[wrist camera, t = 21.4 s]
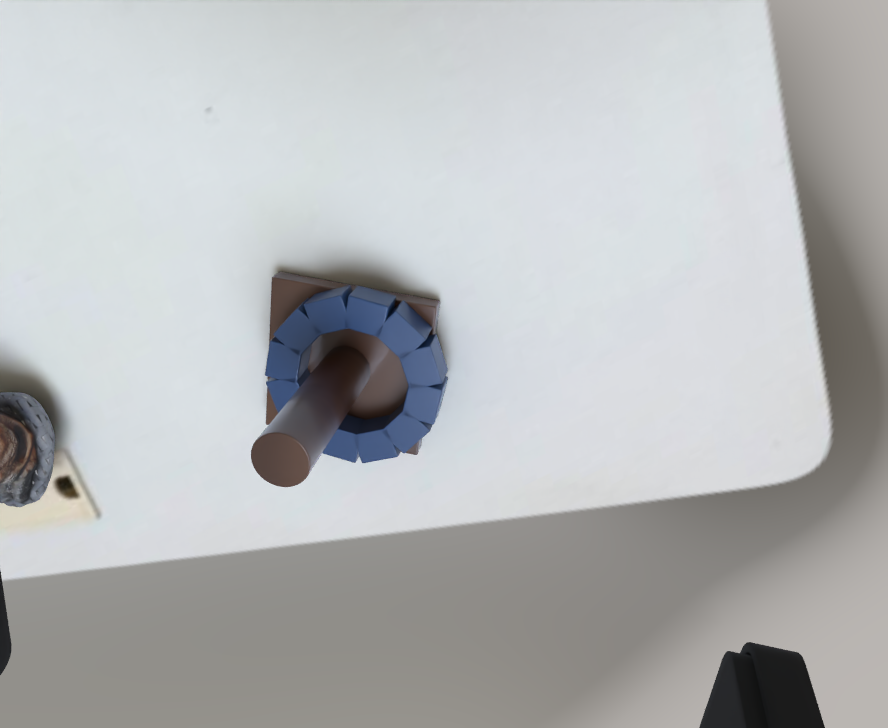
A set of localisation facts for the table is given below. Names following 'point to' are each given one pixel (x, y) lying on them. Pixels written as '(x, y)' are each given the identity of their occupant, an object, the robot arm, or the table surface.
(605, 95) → the table surface
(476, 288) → the table surface
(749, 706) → the robot arm
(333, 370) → the stand
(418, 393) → the ring
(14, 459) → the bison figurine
